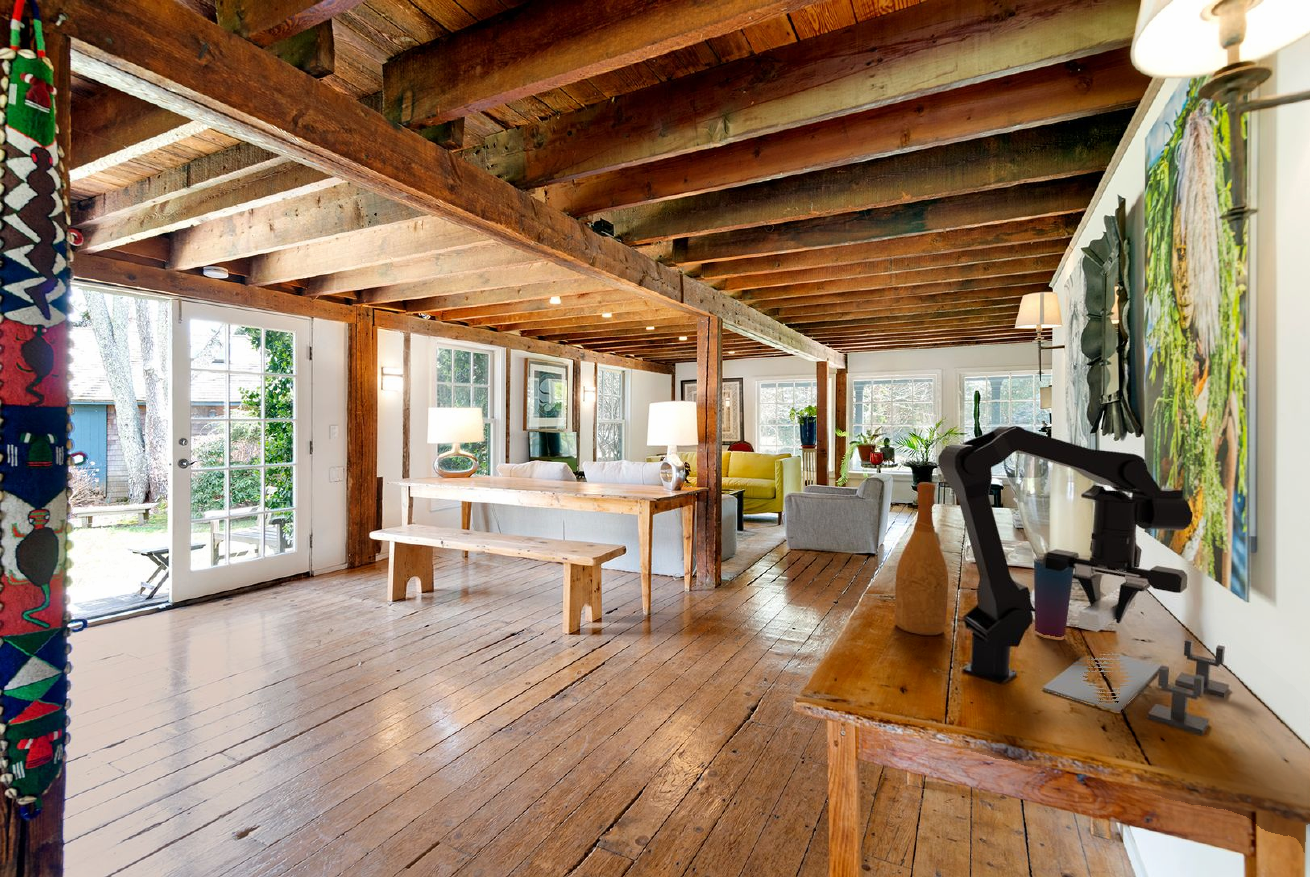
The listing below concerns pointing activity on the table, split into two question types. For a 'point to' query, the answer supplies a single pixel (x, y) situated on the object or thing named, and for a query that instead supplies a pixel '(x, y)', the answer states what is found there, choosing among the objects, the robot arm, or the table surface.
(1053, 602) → the cup
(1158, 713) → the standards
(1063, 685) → the mat
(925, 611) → the wine bottle
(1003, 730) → the table surface
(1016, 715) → the table surface
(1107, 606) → the rail
